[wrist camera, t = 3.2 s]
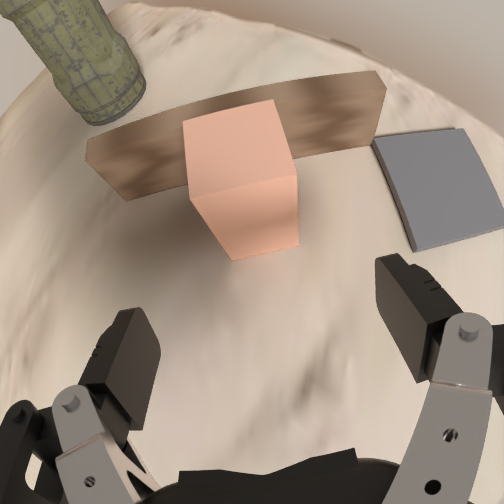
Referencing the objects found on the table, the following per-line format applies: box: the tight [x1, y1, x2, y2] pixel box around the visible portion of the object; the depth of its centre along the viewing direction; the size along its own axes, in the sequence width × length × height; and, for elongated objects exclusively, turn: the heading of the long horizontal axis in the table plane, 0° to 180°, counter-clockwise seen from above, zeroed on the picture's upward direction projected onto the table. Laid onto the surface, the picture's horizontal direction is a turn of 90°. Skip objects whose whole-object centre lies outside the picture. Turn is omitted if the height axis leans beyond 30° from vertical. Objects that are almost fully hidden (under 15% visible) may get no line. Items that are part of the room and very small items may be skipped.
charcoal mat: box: [372, 128, 504, 253], centre depth 23 cm, size 10×10×1 cm
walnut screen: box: [85, 71, 387, 201], centre depth 23 cm, size 22×2×7 cm, turn 100°
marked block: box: [183, 99, 299, 261], centre depth 20 cm, size 5×5×10 cm
